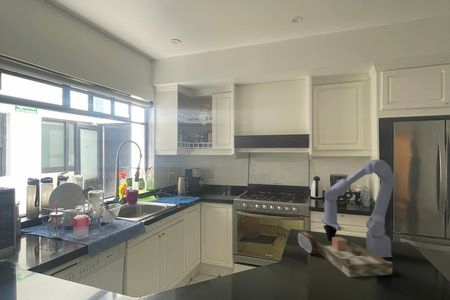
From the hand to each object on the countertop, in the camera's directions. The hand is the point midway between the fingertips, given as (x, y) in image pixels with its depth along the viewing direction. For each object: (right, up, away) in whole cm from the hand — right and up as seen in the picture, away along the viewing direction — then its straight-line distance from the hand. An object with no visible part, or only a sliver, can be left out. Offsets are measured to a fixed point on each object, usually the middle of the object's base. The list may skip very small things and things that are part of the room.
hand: (330, 240), depth 120 cm
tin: (-13, -4, -3) cm, 14 cm away
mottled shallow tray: (+2, -3, -16) cm, 16 cm away
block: (+1, -1, -7) cm, 7 cm away
